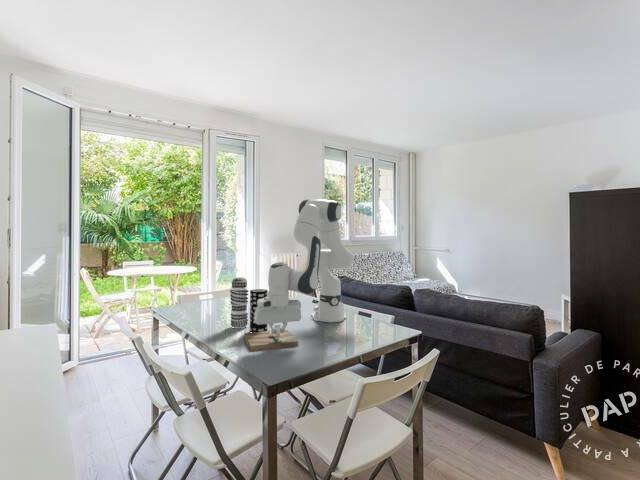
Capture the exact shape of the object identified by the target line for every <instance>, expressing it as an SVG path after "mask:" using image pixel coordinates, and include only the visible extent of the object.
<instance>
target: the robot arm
mask: <svg viewBox="0 0 640 480" xmlns="http://www.w3.org/2000/svg"><path fill="white" fill-rule="evenodd" d="M341 216H342V205H341V204H340V202H338V201H336V200H330V199H329V200H328V199H321V198H320V199H304V200H302V201H301V202H300V204H299V206H298V217H297V220H296V221H295V225H294V230H293V237H294V239H295V241H296V242H297V243H298V244H300V245H301V246H303V247H305V248H306V249H307V256H306V257H307V258H306V267H305V269H304V270H302V269H294V268H293V267H291V266H289V265H288V263H287V262H275V263H273V264H271V265H270V267H269V269H268V270H269V271H268V278H267V282H268V289H269V290H268V291H267V297H265V298H262V299H259V300H258V301H257V304H258V306H257V307H256V309H255V316H254V322H255V323H256V324H257V325H261V324H267V325H268V326H269V328H270V329H271V330H270V331H271V333H272V334H275V333H276V329H275V328H274V324H282V326H281V327H280V332H281V333H284V332H285V330H286V328H287V325H288V323H290V322H291V323H292V322H300V321H301V319H302V312H301V310H302V309H301V308H302V302H301V301H300V300H299V299H290V297H289V296H290V291H291V292H295V293H297V292H298V293H301V294H305V295H312V294H313V293H314V292H315V291H316V290H317V289H318V288H319V282H320V295H319V299H318V300H319V301H318V302H317V303H316V305H315V306H314V307H313V312H311V317H312V319H313V321H315V322H323V323H339V322H343V321H344V320H345V319H347V316H346V315H345V311H344V310H345V309H344V307H345V306H344V303H343V302H342V293H341V292H342V291H341V289H342V288H341V286H342V285H341V282H342V281H341V279H340V278H339V277H338V276H336V275H334V274H332V272H331V270H340V271H342V270H350V269H352V267H353V266H354V264H355V256H354V254H353V253H352V252H351V251H350V250H349V249H348V248H346V246H345V245H344V244H343V243H342V241H341V236H340V226H339V220H340V218H341ZM322 245H323V246H324V247H325V248H326V247H327V249H322V247H321V246H322Z"/></svg>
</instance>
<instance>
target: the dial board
mask: <svg viewBox="0 0 640 480" xmlns="http://www.w3.org/2000/svg"><path fill="white" fill-rule="evenodd" d="M270 332H271V330H267V331H264V332H252V333H250V332H244V333H243V336H244V337H245V338H244V340H245V339H246V340H245V342H246V341H247V342H246V344H247V343H248V344H247V346H248V348H249V350H250V351H251V350H253V351H260V350H259V349H263V350H270V349H271V348H272V349H280V348H290V347H298V346H299V340H297V339H296V337H295V336H294V335H293V334H292V333H291V332H290V331H289V330H288V329H285V332H284V333H281V332H280V339H275V337H270V336H269V333H270Z"/></svg>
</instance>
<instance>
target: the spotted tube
mask: <svg viewBox="0 0 640 480" xmlns="http://www.w3.org/2000/svg"><path fill="white" fill-rule="evenodd" d="M267 296H268V289H263V288H258V289H257V288H256V289H251V290H249V333H250V332H264V331H268V324H261V325H257V324H256V323H255V322H254V316H255V309H256V307H257V306H258V304H257V301H258V300H259V299H262V298H265V297H267Z"/></svg>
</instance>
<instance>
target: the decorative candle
mask: <svg viewBox="0 0 640 480" xmlns="http://www.w3.org/2000/svg"><path fill="white" fill-rule="evenodd" d="M229 293H230V298H229V299H230V305H231V310H230V311H231V313H230V327H231V326H232V327H234V328H244V329H246V328H245V327H247V326H248V325H249V324H248V321H249V320H248V317H249V316H248V308H247V307H248V306H247V305H248V302H249V297H247V296H249V293H250V290H248V280H247V279H246V278H245V277H242V276H241V277H234V278H233V279H232V280H231V288H230V290H229ZM247 328H248V327H247Z"/></svg>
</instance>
